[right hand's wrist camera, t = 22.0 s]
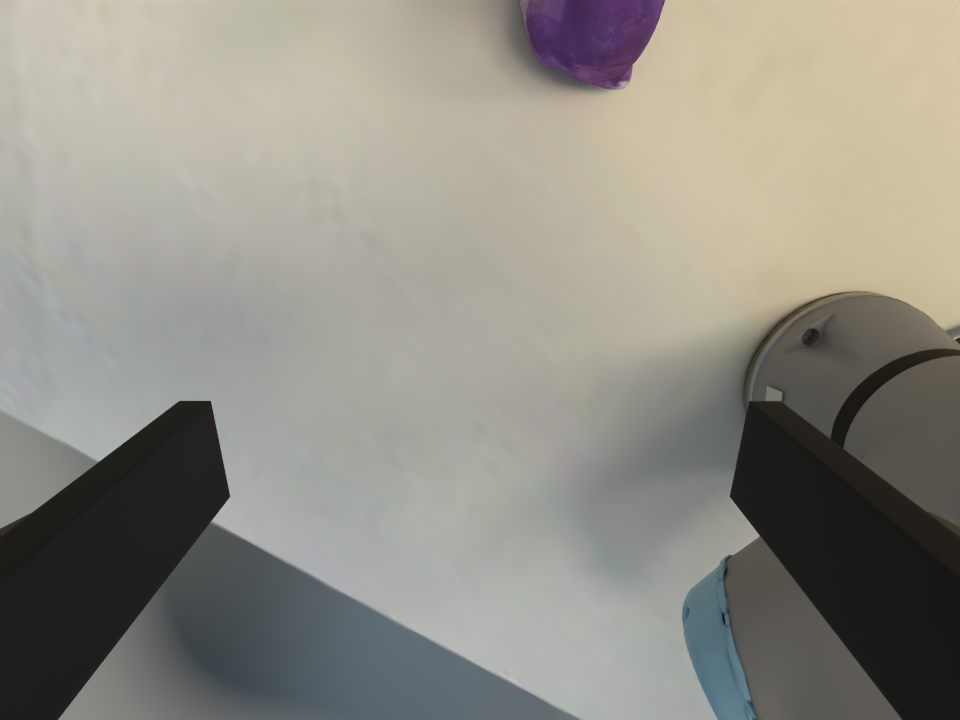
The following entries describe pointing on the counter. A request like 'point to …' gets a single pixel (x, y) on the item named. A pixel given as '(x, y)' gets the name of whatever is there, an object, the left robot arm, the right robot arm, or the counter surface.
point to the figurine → (591, 36)
